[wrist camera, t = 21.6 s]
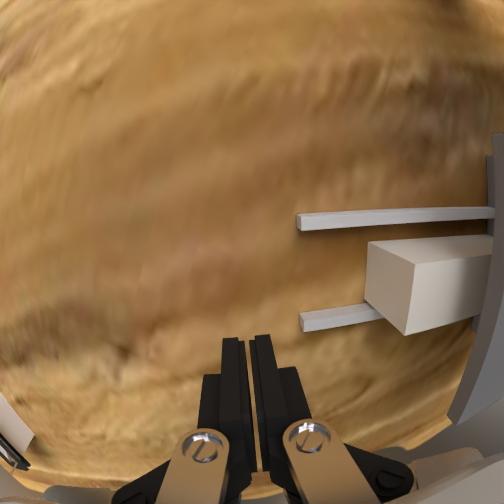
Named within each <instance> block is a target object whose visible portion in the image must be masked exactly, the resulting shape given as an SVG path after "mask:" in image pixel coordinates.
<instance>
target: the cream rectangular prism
mask: <svg viewBox="0 0 504 504" xmlns="http://www.w3.org/2000/svg"><path fill="white" fill-rule="evenodd" d="M492 247H493V236H491V235H487V234H479V235H463V236H448V237H432V238H417V239H401V240H386V241H371V242H368V248H367V268H366V283H365V295H364V299H365V300H366V301H367V302H368V303H370V304H371V305H372V306H373V307H374V308H375V309H376V310H377V311H378V312H379V313H381V314H382V315H383V316H384V317H385V318H386V319H387V320H388V321H389V322H390V323H391V324H392V325H394V326H395V327H396V328H397V329H398V330H399V331H400V332H401V333H402V334H403V335H404V336H406V335H410V334H414V333H418V332H422V331H425V330H429V329H433V328H436V327H440V326H443V325H447V324H450V323H453V322H457V321H460V320H463V319H466V318H469V317H472V316H475V315H478V314H481V313H482V309H483V304H484V300H485V295H486V289H487V284H488V278H489V271H490V264H491V256H492Z"/></svg>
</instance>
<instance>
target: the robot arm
mask: <svg viewBox="0 0 504 504" xmlns="http://www.w3.org/2000/svg"><path fill="white" fill-rule="evenodd" d="M249 344H250V355H251V365H252V374H253V384H254V394H255V403H256V413H257V422H258V431H259V441H260V450H261V458H262V467H263V472H264V471H270V479H271V481H272V482H273V483H274V484H276V485H278V486H280V487H281V488H283V491H284V494H285V497H286V499H287V502H288V504H504V453H499V454H496V455H493V456H489V457H487V458H484V459H483V456H482V455H481V453H480V452H479V451H478V450H476V449H474V448H470V447H467V448H461V449H458V450H454V451H451V452H447V453H444V454H440V455H436V456H432V457H427V458H423V459H418V460H413V461H412V463H411V464H403V463H401V462H398V461H395V460H391V459H388V458H385V457H382V456H378V455H375V454H373V453H370V452H367V451H364V450H361V449H358V448H356V447H353V446H350V445H348V444H345V443H343V442H342V440H341V439H340V437H339V436H338V434H337V432H336V431H335V429H334V428H333V427H332V426H331V425H330V424H328V423H327V422H325V421H322V420H318V419H312V417H311V414H310V410H309V407H308V404H307V401H306V398H305V394H304V391H303V388H302V385H301V382H300V378H299V375H298V372H297V369H296V367H295V366H294V367H286V368H278V369H277V364H276V360H275V355H274V351H273V346H272V342H271V337H270V334H267V335H257V336H255V340H249ZM253 472H257V461H256V450H255V440H254V429H253V418H252V407H251V396H250V388H249V379H248V370H247V361H246V352H245V343H244V341H238V337H235V338H223V342H222V362H221V374H205V375H204V377H203V383H202V391H201V400H200V408H199V417H198V426H197V429H196V430H192V431H190V432H188V433H186V434H184V435H183V436H182V437H181V438H180V439H179V441H178V442H177V444H176V447H175V450H174V453H173V455H172V458H171V459H170V460H168V461H167V462H165V463H164V464H162V465H160V466H159V467H157V468H155V469H154V470H152V471H150V472H148V473H147V474H145V475H143V476H141V477H140V478H138V479H136V480H134V481H133V482H131V483H129V484H127V485H125V486H123V487H121V488H120V489H119V490H117V491H111V490H110V489H109V488H85V487H72V486H62V485H54V486H51V487H49V488H48V489H47V490H46V491H45V492H44V494H43V497H42V499H38V498H32V497H16V496H15V497H5V498H2V499H0V504H241V497H242V491H243V490H244V489H245V488H247V487H248V486H249V485H250V484H251V481H252V477H251V473H253Z"/></svg>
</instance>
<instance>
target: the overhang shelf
mask: <svg viewBox="0 0 504 504" xmlns="http://www.w3.org/2000/svg"><path fill="white" fill-rule="evenodd" d="M491 134H492V142H493V153H494V156H486V161H487V185H488V206H487V207H430V208H399V209H375V210H355V211H338V212H321V213H306V214H296V222H297V228H298V229H300V230H301V231H306V230H318V229H331V228H344V227H357V226H371V225H385V224H400V223H415V222H432V221H449V220H467V219H487V229H486V234H487V235H491V236H493V247H492V256H491V264H490V271H489V278H488V284H487V289H486V295H485V300H484V304H483V309H482V313H481V314H478V315H475V316H474V317H473V321H472V325H471V329H472V330H473V331H475V332H476V337H475V340H474V344H473V347H472V350H471V353H470V357H469V360H468V363H467V365H466V368H465V371H464V374H463V377H462V379H461V382H460V385H459V387H458V390H457V392H456V395H455V397H454V399H453V402H452V404H451V406H450V409H449V411H448V413H447V416H448V418H449V419H450V420H451V421H452V422H453V424H454V425H455V426H457V425H459V424H461V423H462V422H464V421H466V420H468V419H469V418H471V417H473V416H474V415H476V414H478V413H479V412H481V411H483V410H484V409H486V408H487V407H489V406H490V405H492V404H493V403H495V402H496V401H498V400H499V399H501V398H502V397H504V132H502V133H491ZM381 318H385V317H384V316H383V315H382V314H381V313H379V312H378V311H377V310H376V309H375V308H374V307H373V306H372V305H371V304H370V303H368V302H367V303H362V304H356V305H350V306H343V307H337V308H331V309H324V310H317V311H310V312H302V313H300V325H301V327H302V329H303V331H304V332H308V331H315V330H321V329H328V328H334V327H340V326H345V325H351V324H356V323H361V322H367V321H372V320H377V319H381Z"/></svg>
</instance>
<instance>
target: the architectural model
mask: <svg viewBox="0 0 504 504" xmlns="http://www.w3.org/2000/svg"><path fill="white" fill-rule="evenodd" d="M34 435H35V434H34V433H33V432H32V431H31V430H30V429H29V428H28V426H27V425H26V424H25V423H24V422H23V421H22V419H21V418H20V417H19V416H18V415H17V413H16V412H15V411H14V410H13V408H12V407H11V406H10V405H9V403H8V402H7V401H6V399H5V398H4V397H3V395H2V394H1V392H0V456H1V457H2V458H3V459H4V460H5V461H6V462H7V463H8V464H10V465H11V466H13V469H12V471H11V473H10V475H12V473H13V472H14V470H15V468H17V469H20V470H25V471H28V470H29V469H28V468H27V467H30V466H31V465H30V463H29V462H28V461H27V460H26V459H25V458H24V457H23V454H24V452H25V450H26V449H27V447H28V445H29V443H30V442H31V440H32V438H33V437H34ZM26 466H27V467H26Z"/></svg>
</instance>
